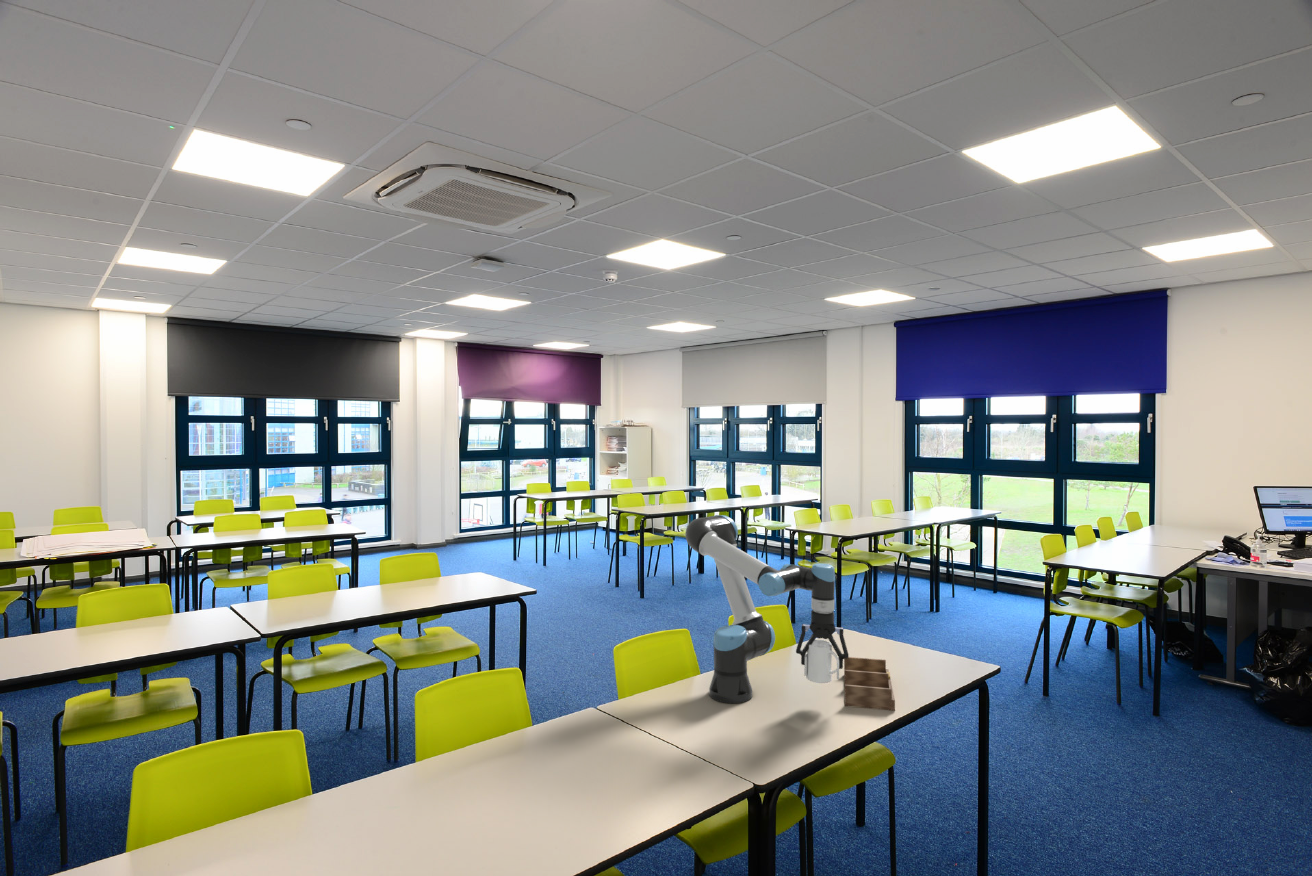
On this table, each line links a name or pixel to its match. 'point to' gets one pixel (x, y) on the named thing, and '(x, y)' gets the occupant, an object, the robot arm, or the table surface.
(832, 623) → the robot arm
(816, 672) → the mug
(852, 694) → the rack
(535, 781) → the table surface
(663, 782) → the table surface
